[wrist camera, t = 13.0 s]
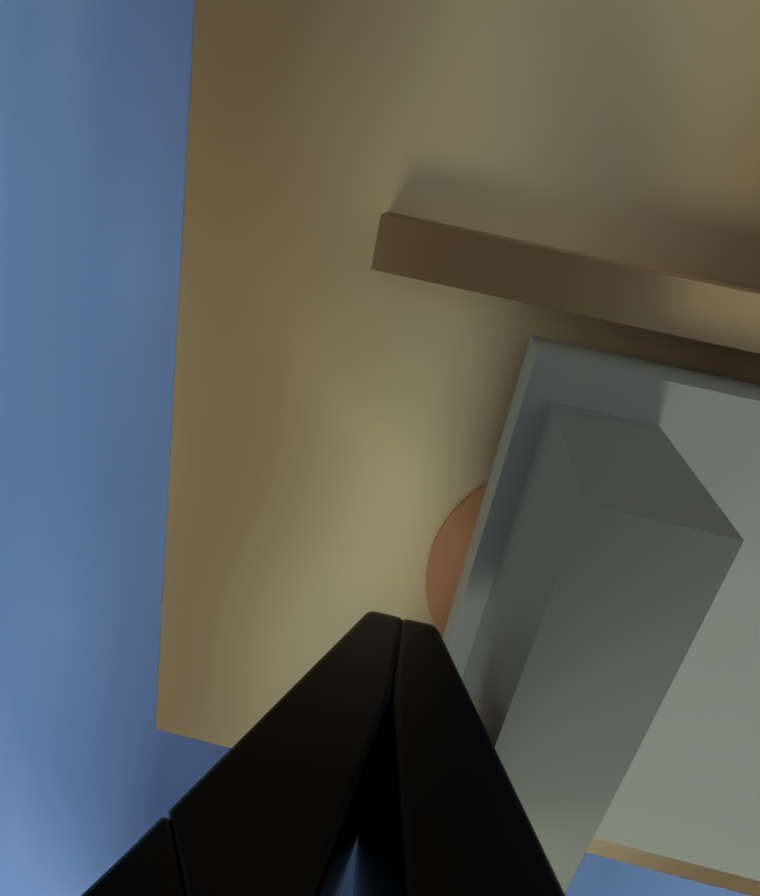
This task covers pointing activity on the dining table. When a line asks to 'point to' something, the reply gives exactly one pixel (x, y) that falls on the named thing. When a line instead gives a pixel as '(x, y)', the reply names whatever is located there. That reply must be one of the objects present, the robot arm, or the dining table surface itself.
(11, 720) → the dining table surface
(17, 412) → the dining table surface
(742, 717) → the slide cover
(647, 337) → the puzzle board
